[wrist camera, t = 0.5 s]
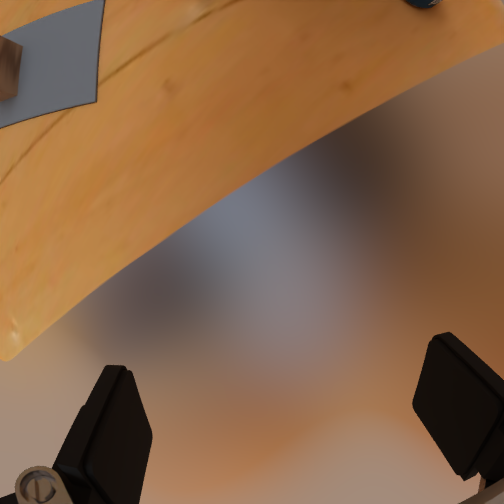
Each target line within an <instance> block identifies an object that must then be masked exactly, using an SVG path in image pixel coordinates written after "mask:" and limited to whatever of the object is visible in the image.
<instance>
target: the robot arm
mask: <svg viewBox="0 0 504 504" xmlns="http://www.w3.org/2000/svg"><path fill="white" fill-rule="evenodd" d="M412 405H413V409H414V411H415V413H416V414H417V416H418V417H419V418H420V420H421V421H422V423H423V424H424V426H425V427H426V429H427V430H428V432H429V433H430V435H431V437H432V438H433V440H434V441H435V442H436V444H437V446H438V447H439V449H440V450H441V452H442V453H443V455H444V456H445V458H446V460H447V461H448V463H449V464H450V466H451V467H452V469H453V470H454V472H455V473H456V474H457V475H460V476H461V478H462V479H463V481H466V480H468V479H470V478H471V477H473V476H475V475H476V474H477V473H478V472H479V473H480V475H481V479H480V484H479V489H478V493H477V494H476V495H474V496H472V497H470V498H468V499H466V500H465V501H463V502H461V503H459V504H504V380H503V379H502V378H501V377H500V376H499V375H497V374H496V373H495V372H494V371H493V370H492V369H491V368H490V367H489V366H488V365H487V364H486V363H485V362H484V361H482V360H481V359H480V358H479V357H478V356H477V355H476V354H475V353H474V352H472V351H471V350H470V349H469V348H468V347H467V346H466V345H465V344H464V343H462V342H461V341H460V340H459V339H458V338H457V337H456V336H454V335H453V334H452V333H450V332H446V333H442V334H438V335H435V336H434V337H433V338H432V340H431V341H430V342H429V344H428V348H427V352H426V356H425V360H424V363H423V367H422V371H421V374H420V378H419V381H418V385H417V388H416V391H415V395H414V398H413V402H412ZM151 444H152V430H151V427H150V425H149V422H148V419H147V416H146V413H145V410H144V408H143V404H142V402H141V398H140V395H139V392H138V389H137V386H136V382H135V379H134V376H133V373H132V371H130V370H127V369H126V367H125V366H122V365H106V366H105V367H104V369H103V371H102V373H101V375H100V377H99V379H98V381H97V382H96V384H95V386H94V388H93V390H92V392H91V394H90V396H89V398H88V400H87V402H86V404H85V405H83V406H82V407H81V409H80V411H79V413H78V415H77V417H76V419H75V421H74V423H73V425H72V427H71V429H70V431H69V433H68V435H67V437H66V439H65V441H64V443H63V445H62V447H61V450H60V451H59V453H58V456H57V458H56V460H55V462H54V464H53V467H52V469H51V468H48V467H46V466H35V467H30V468H28V469H26V470H24V471H23V472H22V473H21V474H20V475H19V477H18V478H17V480H16V483H15V493H13V494H10V495H7V496H4V497H1V498H0V504H139V501H140V496H141V491H142V486H143V481H144V476H145V472H146V467H147V462H148V457H149V453H150V448H151Z"/></svg>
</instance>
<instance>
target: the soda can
mask: <svg viewBox="0 0 504 504" xmlns="http://www.w3.org/2000/svg"><path fill="white" fill-rule="evenodd" d="M406 1H407V2H409V3H410V4H412V5H414V6H416V7H421V8H431V7H433V6H434V5H436V4H437V3H439V2H441V1H442V0H406Z"/></svg>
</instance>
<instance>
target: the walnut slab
mask: <svg viewBox="0 0 504 504" xmlns="http://www.w3.org/2000/svg"><path fill="white" fill-rule="evenodd" d="M22 50H23V46H21V45H19V44H17V43H15V42H13V41H11V40H9V39H7V38H4V37H2V36H0V102H1V101H4V100H6V99H9V98H12V97H14V96H17V94H18V82H19V72H20V64H21V56H22Z"/></svg>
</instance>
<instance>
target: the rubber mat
mask: <svg viewBox="0 0 504 504" xmlns="http://www.w3.org/2000/svg"><path fill="white" fill-rule="evenodd" d="M104 6H105V0H94V1H90V2H87V3H83V4H80V5H77V6H74V7H71V8H68V9H65V10H62V11H59V12H56V13H54V14H51V15H48V16H46V17H43V18H41V19H38V20H36V21H33V22H31V23H29V24H26V25H24V26H22V27H20V28H17V29H15V30H13V31H11V32H9V33H7V34H5V35H3V36H2V37H4V38H7V39H9V40H11V41H13V42H15V43H17V44H19V45H21V46H23V50H22V56H21V64H20V72H19V82H18V94H17V96H14V97H12V98H9V99H6V100H4V101H1V102H0V128H3V127H5V126H8V125H11V124H14V123H17V122H21V121H24V120H27V119H30V118H34V117H37V116H41V115H44V114H48V113H52V112H55V111H59V110H63V109H67V108H72V107H76V106H80V105H85V104H89V103H94V102H97V80H98V62H99V49H100V38H101V29H102V21H103V13H104Z"/></svg>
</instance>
